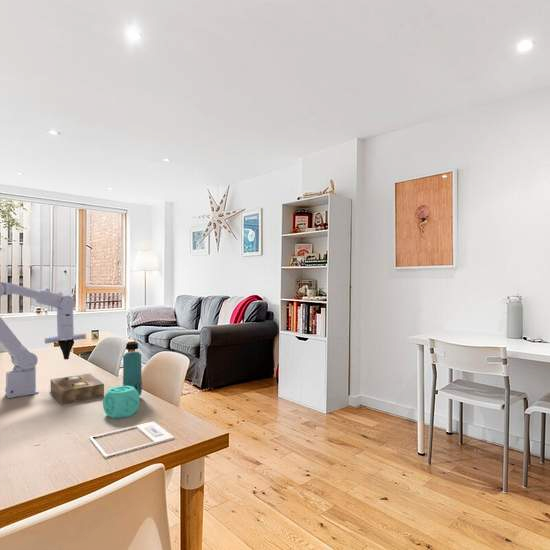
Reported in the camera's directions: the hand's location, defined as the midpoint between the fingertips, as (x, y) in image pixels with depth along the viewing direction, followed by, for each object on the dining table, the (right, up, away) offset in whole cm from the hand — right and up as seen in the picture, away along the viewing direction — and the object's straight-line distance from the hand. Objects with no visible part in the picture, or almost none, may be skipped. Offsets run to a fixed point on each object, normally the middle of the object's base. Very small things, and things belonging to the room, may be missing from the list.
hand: (66, 359), depth 158 cm
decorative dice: (+35, -11, -32) cm, 49 cm away
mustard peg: (+13, -10, -15) cm, 22 cm away
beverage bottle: (+33, -11, -17) cm, 38 cm away
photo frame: (+45, -11, -51) cm, 69 cm away
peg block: (+10, -11, -11) cm, 18 cm away
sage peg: (+7, -10, -7) cm, 14 cm away
